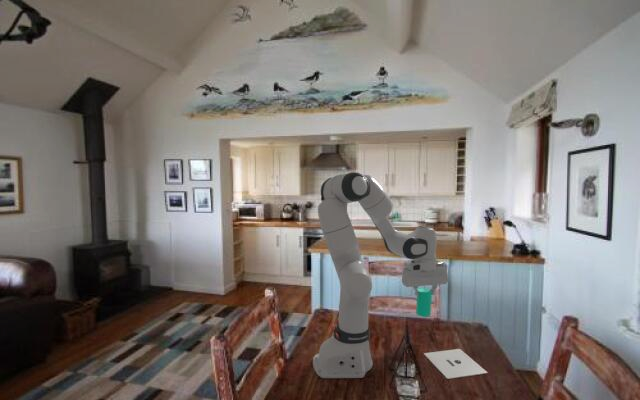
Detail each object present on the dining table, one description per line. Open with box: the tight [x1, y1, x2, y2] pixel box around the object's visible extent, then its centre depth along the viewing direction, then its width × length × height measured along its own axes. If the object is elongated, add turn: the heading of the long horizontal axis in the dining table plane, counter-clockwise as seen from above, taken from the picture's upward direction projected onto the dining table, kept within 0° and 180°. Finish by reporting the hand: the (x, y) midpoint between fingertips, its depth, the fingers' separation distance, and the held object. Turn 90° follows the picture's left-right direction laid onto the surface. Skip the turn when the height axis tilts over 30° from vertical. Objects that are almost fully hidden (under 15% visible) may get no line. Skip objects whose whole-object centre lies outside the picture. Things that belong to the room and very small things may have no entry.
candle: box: [415, 287, 433, 318], centre depth 137 cm, size 6×6×12 cm
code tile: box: [423, 348, 489, 380], centre depth 119 cm, size 16×16×1 cm
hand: (424, 294), depth 137 cm, fingers closed on candle, 5 cm apart
